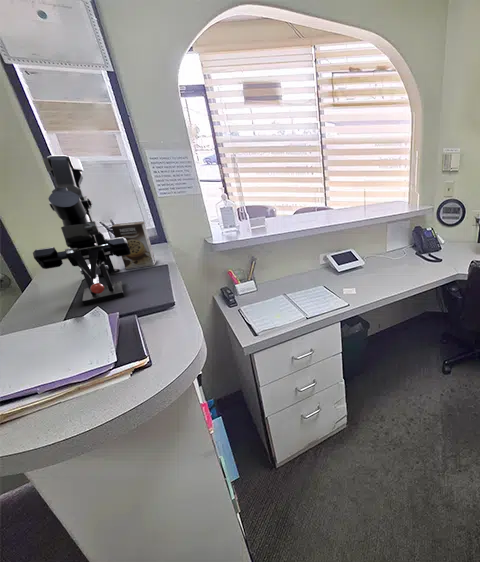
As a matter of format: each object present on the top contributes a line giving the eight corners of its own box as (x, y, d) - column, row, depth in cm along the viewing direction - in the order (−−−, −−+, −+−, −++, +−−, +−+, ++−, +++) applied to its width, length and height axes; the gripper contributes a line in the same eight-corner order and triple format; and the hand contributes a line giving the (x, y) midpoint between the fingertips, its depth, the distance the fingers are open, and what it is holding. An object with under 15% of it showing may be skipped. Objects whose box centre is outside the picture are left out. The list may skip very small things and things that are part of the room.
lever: (106, 293, 83) (102, 285, 82) (92, 296, 82) (88, 288, 80) (102, 270, 92) (98, 262, 90) (89, 272, 90) (86, 264, 89)
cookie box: (125, 269, 114) (109, 226, 108) (128, 265, 119) (114, 223, 113) (154, 265, 118) (141, 223, 112) (156, 261, 123) (144, 220, 117)
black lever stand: (124, 296, 91) (112, 264, 87) (83, 305, 85) (69, 272, 82) (122, 285, 99) (111, 256, 96) (85, 293, 94) (73, 262, 90)
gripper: (17, 217, 74) (29, 272, 70) (115, 208, 85) (131, 254, 81) (37, 243, 82) (49, 293, 79) (123, 232, 93) (138, 275, 89)
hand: (93, 278), depth 82 cm, fingers closed
